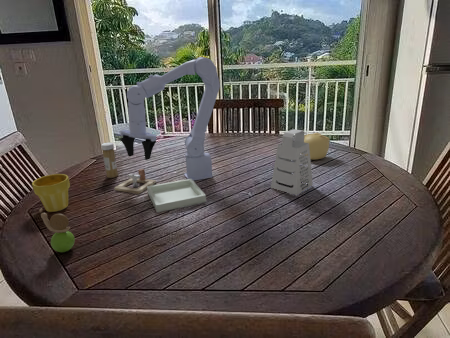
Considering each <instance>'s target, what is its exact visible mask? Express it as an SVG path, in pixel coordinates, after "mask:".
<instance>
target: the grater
mask: <svg viewBox="0 0 450 338" xmlns="http://www.w3.org/2000/svg"><path fill="white" fill-rule="evenodd" d="M304 135H305V131H304V130H301V129H295V128H294V129H293V128H292V129H291V130H287V131H285V132H283V135H282V142H281V143H278V144H277V147H276V155H275V159H274V167H273V172H272V178H271V185H270V189H271V188H274V189H277V190H276V191H278V190H281V191H285V192H288V193H291V194H295V195H297V194H299V193H301V192H302V191H304V190H305V189H307V188H309V187H310V186H312V185H313V186H314V184H313V175H312V174H313V173H312V164H311V163H312V161H311V160H312V159H310V150H309V143H304ZM293 138H294V140H293ZM302 153H303V154H302ZM307 153H308V156H307ZM305 154H306V156H305ZM301 182H303V183H301ZM279 183H280V184H279ZM304 183H305V184H304ZM306 183H307V184H308V185H307V184H306ZM283 184H284V185H283ZM285 185H286V186H285ZM289 186H290V187H289ZM291 186H292V187H291ZM274 189H273V190H274ZM309 189H310V188H309ZM281 191H280V192H281ZM291 194H290V195H291ZM301 194H302V193H301Z"/></svg>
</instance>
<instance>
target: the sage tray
mask: <svg viewBox="0 0 450 338" xmlns="http://www.w3.org/2000/svg"><path fill="white" fill-rule="evenodd" d="M146 190H147V191H146V192H147V194H148V197H149V198H150V201H151V203H152V205H153V208H154V209H155V211H156V213H162V212H166V211H171V210H176V209H181V208H186V207H191V206H195V205H200V204H205V203H207V195H206V194H205V192H204V191H203V190H202V189H201V188H200V187H199V185H197V183H196V182H195V181H193V180H192V179H187V178H186V179H181V180H180V179H179V180H176V181H169V182H164V183H158V184H153V185H152V186H147V189H146Z"/></svg>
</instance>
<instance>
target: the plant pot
mask: <svg viewBox="0 0 450 338" xmlns="http://www.w3.org/2000/svg"><path fill="white" fill-rule="evenodd" d="M31 186H32V189H33V192H34V194H35V195H36V196H38V198H39V199H40V202H41V203H42V206H43V207H44V209H45V211H46V212H49V213H56V212H60V211H63V210H64V209H66V208H68V206H69V189H70V187H71V183H70V178H69V175H67V174H64V173H53V174H47V175H44V176H41V177H39V178H37V179H35V180H33V182H31Z"/></svg>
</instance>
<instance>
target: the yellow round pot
mask: <svg viewBox="0 0 450 338" xmlns="http://www.w3.org/2000/svg"><path fill="white" fill-rule="evenodd" d="M304 143H309V150H310V160H312V161H313V160H320V159H323V158H325V157H326V155H327V154H328V152H329V148H330V137H328V136H325V135H323V134H321V133H319V132H315V133H308V134H304ZM302 154H303V153H302ZM305 156H306V154H305ZM307 156H308V153H307Z"/></svg>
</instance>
